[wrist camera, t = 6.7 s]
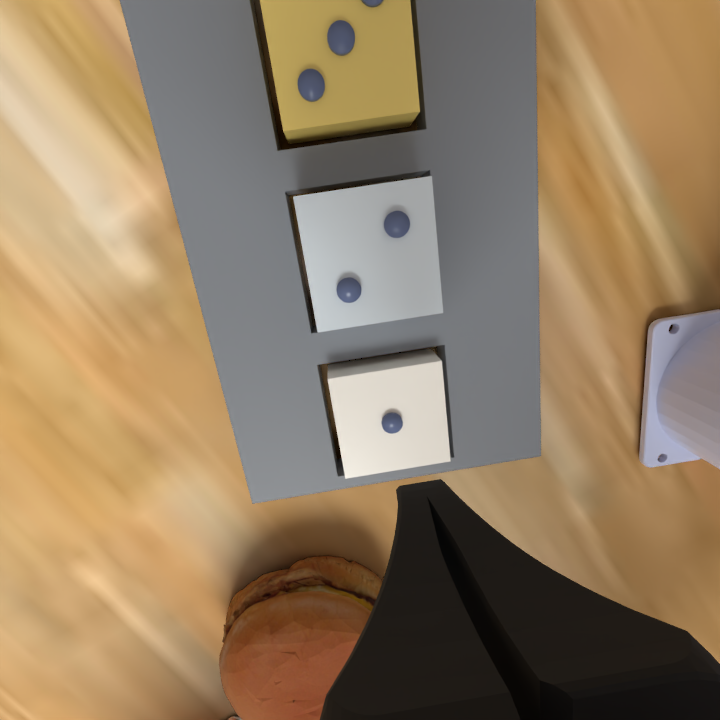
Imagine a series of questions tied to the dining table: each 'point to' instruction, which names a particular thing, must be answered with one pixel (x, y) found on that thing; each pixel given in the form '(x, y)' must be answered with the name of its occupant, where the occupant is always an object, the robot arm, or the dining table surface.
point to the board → (344, 169)
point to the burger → (294, 636)
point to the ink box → (234, 718)
